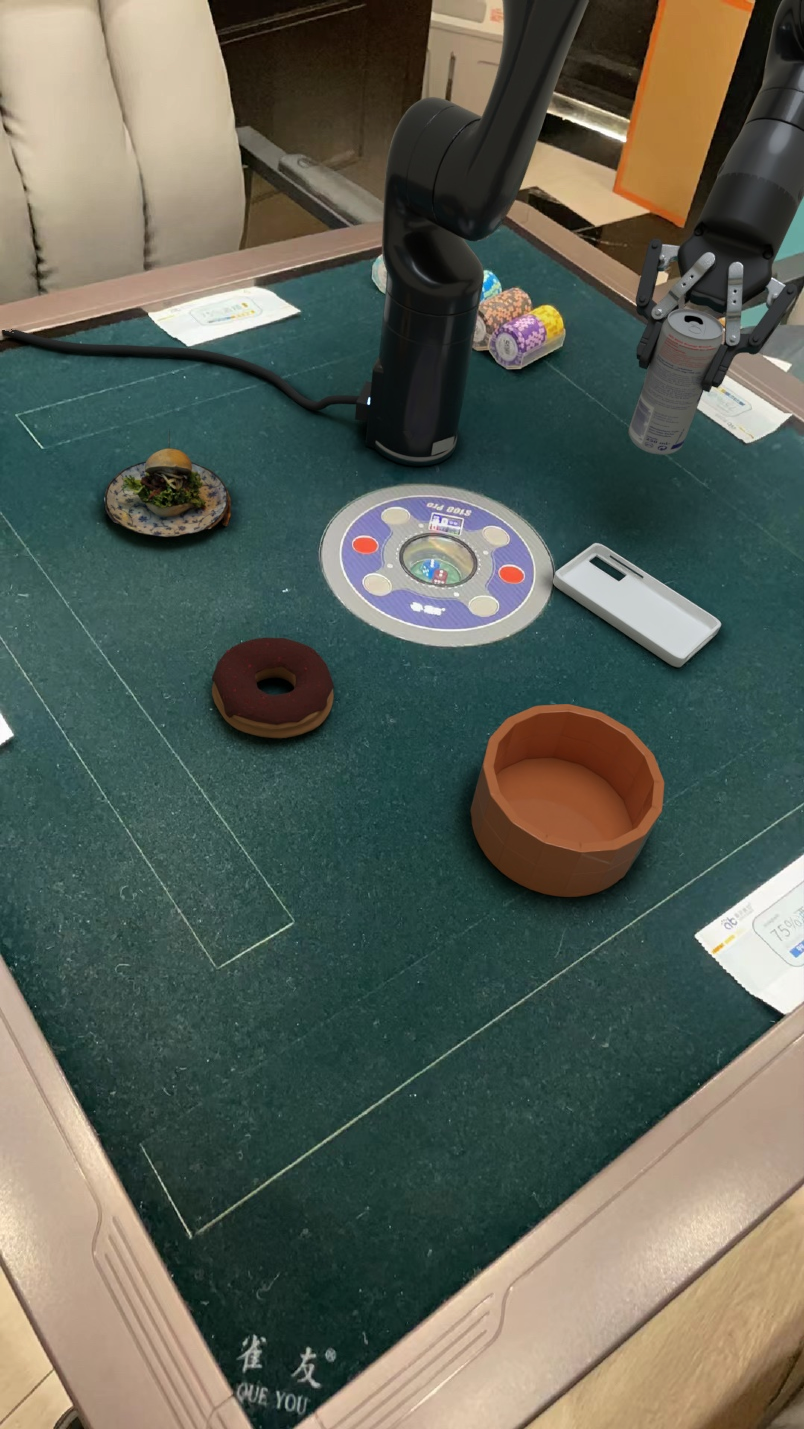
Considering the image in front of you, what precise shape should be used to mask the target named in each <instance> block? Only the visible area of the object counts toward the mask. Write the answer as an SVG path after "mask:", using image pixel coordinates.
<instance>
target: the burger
mask: <svg viewBox="0 0 804 1429" xmlns="http://www.w3.org/2000/svg"><path fill="white" fill-rule="evenodd" d="M170 441H171V428H169V429H168V448H164V449H160V450H158V451H156V452H154V453H152V454H151V455H150V456H149V457H148V459H147V460H146V461H142V462H138V463H135V464H133V465H131V466H128V467H126V468H124V469H123V470H120V472H118V474H116V476H115V477H113V478H112V479H111V480H110V481H109V483H108V485H107V487H106V489H105V493H104V498H103V501H104V504H105V505H104V514H105V516H107V515H108V517H109V518H110V519H111V521H112V522H113V523H116V524H118V525H121V526H122V527H124V528H125V529H127V530H129V531H130V532H135V533H139V534H141V535H147V536H149V535H150V536H155V537H163V538H173V537H180V536H183V535H188V534H195V533H199V532H201V531H205V530H210V529H212V528H213V527H215V526H217V525H218V524H219V522H220V521H221V525H222V526H223V527H228V524H229V520H230V519H231V510H232V509H231V497H230V494H229V490H228V488H227V485H226V484H225V483H224V481H223V480H222V479H221V477H219V476H218V475H217V474H216V473H215V472H214V471H213V470H211V469H209V468H207V467H206V466H205V467H204V466H203V465H200V464H198V463H195V462H193V461H191V459H190V457H189V456H188V455H187V454H186V453H185V452H184V451H182V450H180V449H175V448H170V446H171V445H170Z"/></svg>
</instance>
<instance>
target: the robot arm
mask: <svg viewBox="0 0 804 1429" xmlns="http://www.w3.org/2000/svg"><path fill="white" fill-rule="evenodd" d="M589 2H590V0H502V14H503V15H502V17H503V19H502V20H503V29H502V30H503V34H502V47H501V53H500V58H499V64H498V68H497V71H496V75H495V79H494V82H493V85H492V89H491V91H490V94H489V97H488V100H487V103H486V105H485V108H484V109H483V112H482V115H479V114H477V113H476V112H474V111H471V110H469V109H467V108H465V107H462V106H461V105H458V104H456V103H454V102H453V101H450V100H448V99H445V98H441V97H438V96H429V97H428V96H427V97H425V98H421V99H419V100H418V101H416V102H414V103H413V104H412V105H411V106H410V107H409V108H408V109H407V110H406V111H405V113H404V114H403V115H402V117H401V118H400V120H399V122H398V124H397V125H396V128H395V131H394V132H393V135H392V138H391V140H390V145H389V148H388V153H387V158H386V164H385V165H386V167H385V175H384V188H383V212H382V213H383V214H382V236H381V256H382V261H383V264H384V267H385V271H386V280H385V291H384V292H385V293H384V303H383V311H382V322H381V332H380V342H379V349H378V350H379V352H378V356H377V358H376V360H375V362H374V365H373V367H372V374H371V381H368V380H366V381H365V382H364V385H363V387H362V389H361V391H360V393H359V395H347V394H335V395H328V396H325V397H324V398H321V399H320V400H319V401H316V400H311V399H309V398H306V397H304V396H303V395H302V394H300V393H299V392H298V391H297V390H295V389H294V388H293V387H292V386H291V385H290V384H289V383H288V382H287V381H286V380H284V379H283V378H282V377H281V376H279V375H278V374H276V373H275V372H273V371H271V370H269V369H267V368H265V367H262V366H261V365H258V364H256V363H253V362H250V361H247V360H245V359H241V358H239V357H236V356H231V355H227V354H223V353H218V352H213V351H209V350H203V349H197V348H189V347H188V348H187V347H175V346H174V347H171V346H146V345H131V344H100V343H99V344H97V343H95V344H94V343H93V344H92V343H79V342H71V341H70V342H69V341H63V340H58V339H53V338H48V337H43V336H39V335H36V334H32V333H29V332H27V331H26V332H25V331H22V330H19V329H15V330H12V329H13V328H12V329H11V330H12V331H11V332H9V331H5V330H2V329H1V335H2V336H4V337H7V338H11V339H14V340H15V339H16V340H19V341H23V342H26V343H29V344H32V345H36V346H40V347H45V348H49V349H52V350H59V351H64V352H65V351H66V352H74V353H81V354H106V355H107V354H108V355H109V354H110V355H112V354H113V355H137V356H139V355H140V356H157V357H159V356H161V357H178V358H179V357H181V358H192V359H200V360H205V361H209V362H210V361H211V362H216V363H220V364H225V365H229V366H232V367H235V368H239V369H241V370H245V371H248V372H250V373H252V374H255V375H257V376H260V377H262V378H264V379H266V380H268V381H270V382H272V383H273V384H274V385H276V386H277V387H278V388H279V389H281V391H283V392H284V393H285V394H286V396H288V397H289V398H290V399H292V400H293V401H294V402H295V403H297V404H298V405H299V406H301V407H303V408H305V409H308V410H311V411H322V410H324V409H326V408H327V407H330V406H332V405H355V413H354V414H355V415H354V421H359V422H363V423H366V424H367V426H366V434H365V446H366V447H368V448H372V449H375V450H376V451H377V452H378V453H379V454H380V455H382V456H383V457H384V458H387V459H388V460H390V461H392V462H396V463H398V464H402V465H407V466H415V467H425V466H426V467H427V466H432V465H436V464H439V463H442V462H443V461H445V460H447V459H448V458H450V457H451V456H452V455H453V454H454V452H455V450H456V447H457V441H458V432H459V424H460V418H461V413H462V407H463V403H464V396H465V391H466V385H467V379H468V374H469V368H470V364H471V363H470V362H471V357H472V351H473V346H474V340H475V334H476V327H477V322H478V316H479V312H480V305H481V300H482V299H481V298H482V293H483V289H484V280H485V272H484V271H485V270H484V267H483V264H482V262H481V261H480V259H479V257H478V256H477V254H476V253H475V252H474V251H473V250H472V248H471V247H470V245H468V243H467V242H466V241H470V242H480V241H483V240H486V239H487V238H489V237H490V236H491V235H493V234H494V233H495V232H496V231H497V230H498V229H499V227H500V226H501V225H502V223H503V222H504V221H505V220H506V218H507V216H508V214H509V213H510V211H511V209H512V208H513V206H514V203H515V201H516V199H517V197H518V194H519V193H520V189H521V187H522V185H523V182H524V180H525V177H526V174H527V171H528V169H529V166H530V163H531V160H532V157H533V154H534V151H535V148H536V146H537V142H538V140H539V136H540V134H541V130H542V128H543V124H544V121H545V119H546V116H547V113H548V110H549V106H550V104H551V101H552V98H553V95H554V92H555V89H556V86H557V83H558V80H559V77H560V74H561V72H562V69H563V67H564V64H565V61H566V59H567V56H568V53H569V51H570V48H571V46H572V43H573V41H574V38H575V36H576V33H577V32H578V28H579V26H580V24H581V22H582V19H583V17H584V14H585V13H586V12H585V11H586V9H587V7H588V4H589ZM764 65H765V66H764V72H763V78H762V85H761V87H760V89H759V90H758V93H757V95H756V97H755V99H754V102H753V104H752V106H751V108H750V111H749V113H748V114H747V118H746V120H745V122H744V124H743V126H742V128H741V131H740V132H739V133H738V136H737V138H736V139H735V141H734V142H733V144H732V145H731V148H730V149H729V150H728V153H727V155H726V157H725V159H724V161H723V162H722V164H721V165H720V167H719V169H718V172H717V173H716V174H717V177H716V179H715V181H714V183H713V185H712V188H711V190H710V193H709V194H708V197H707V199H706V201H705V204H704V206H703V208H702V210H701V213H700V215H699V216H698V219H697V221H696V222H695V225H694V227H693V230H692V232H691V234H690V235H689V237H688V238H686V239H685V240H684V241H683V242H682V243H681V244H680V245H673V244H666V243H665V244H664V243H663V242H662V240H661V239H660V238H656V237H654V238H652V239H650V240H649V242H648V244H647V248H646V253H645V257H644V261H643V266H642V270H641V274H640V278H639V283H638V287H637V290H636V296H635V305H636V307H635V308H636V309H635V311H636V314H637V315H639V316H641V317H643V318H644V319H646V320H647V324H646V326H645V329H644V331H643V333H642V336H641V337H640V339H639V342H638V344H637V346H636V352H635V354H636V360H638V367H639V369H640V368H641V369H642V370H643V369H644V370H646V371H648V368H649V365H650V362H651V359H652V356H653V353H654V350H655V347H656V343H657V340H658V337H659V334H660V331H661V328H662V325H663V323H664V321H665V320H666V319H667V318H668V316H669V314H670V313H671V312H672V311H674V310H678V309H685V308H686V307H687V306H688V305H689V303H690V304H693V305H696V306H702V307H708V308H710V309H711V310H712V311H714V312H716V313H719V314H722V315H724V340H723V341H724V342H723V343H721V345H720V347H719V349H718V351H717V353H716V355H715V357H714V359H713V362H712V364H711V366H710V368H709V370H708V373H707V375H706V377H705V379H704V382H703V384H702V390H704V391H703V392H705V393H706V392H707V393H710V392H711V390H712V388H715V389H718V388H719V387H720V386H721V385H722V384H723V382H724V380H725V378H726V376H727V373H728V372H729V370H730V367H731V364H732V362H733V360H734V359H735V357H736V356H737V355H740V354H749V355H752V356H753V355H757V354H758V353H759V352H760V351H761V350H762V349H763V348H764V345H766V343H767V341H768V340H769V339H770V337H771V336H772V335H773V333H774V332H775V330H777V328H778V327H779V325H780V324H781V322H782V321H783V320H784V318H785V317H786V315H787V314H788V313H789V311H790V309H792V307H793V306H794V304H795V301H796V298H797V294H798V291H799V289H798V286H797V285H796V284H794V283H788V284H784V283H783V282H781V281H779V280H777V279H776V278H775V277H773V264H774V262H775V259H776V258H777V255H778V253H779V251H780V248H781V247H782V245H783V242H784V240H785V238H786V235H787V234H788V232H789V229H790V227H791V226H792V223H793V221H794V218H795V217H796V214H797V212H798V210H799V207H800V205H801V203H802V201H803V199H804V0H781V1H780V4H779V6H778V8H777V11H776V13H775V16H774V20H773V24H772V28H771V34H770V40H769V45H768V50H767V55H766V60H765V64H764ZM675 261H677V265H678V271H679V275H680V278H679V280H677V281H676V282H675V283H674V284H673V285H672V286H671V288H670V289H669V290H668V293H666V294H665V296H664V297H663V298H662V299H661V300H660V301H659V302H658V303H657V302H655V300H654V299H653V298H654V294H655V289H656V285H657V281H658V277H659V272H660V273H662V272H665V271H666V270H668V268H669V265H670V264H671V263H672V262H675ZM763 292H766V293H767V298H766V299H765V306H766V308H767V310H766V312H765V313H764V314H763V316H762V317H761V319H760V320H759V322H757V324H756V326H755V327H754V329H753V330H752V331H751V332H750V333H741V328H742V327H741V326H742V309H743V308H742V306H743V305H745V304H746V303H748V302H749V301H751V300H753V299H755V298H756V297H757V296H759V295H761V294H762V293H763ZM724 313H725V314H724ZM12 332H14V333H12Z"/></svg>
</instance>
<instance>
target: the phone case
mask: <svg viewBox="0 0 804 1429" xmlns="http://www.w3.org/2000/svg"><path fill="white" fill-rule="evenodd" d="M595 557H596V558H598V559H599V560H601V561H603V562H604V563H605V564H607V565H609V566H610V567H612V568H613V569H615V570H616V571H618V572H619V573H621V574H622V575H624V577H623V578H622V579H620V580H617V579H616V578H614V577H613V576H611V575H610V574H608V573H606V571H603V569H600V568H599V567H597V566H596V565H595V564H594V563H592V562H591V561H592V560H593V559H594V558H595ZM616 560H617V561H616ZM624 565H625V566H624ZM626 566H627V567H628V568H627V567H626ZM636 573H637V574H636ZM641 576H642V577H641ZM552 584H553V585H554V586H555V588H557V589H558V590H559V591H561V592H562V593H564V594H565V595H566V596H568V597H569V598H571V599H573V600H574V601H576V602H577V603H579V604H580V605H582V606H583V607H585V608H586V609H587V610H589V611H591V612H592V613H593V614H595V615H596V616H598V617H599V618H601V619H602V620H604V621H605V622H607V623H608V624H610V626H613V627H614V628H616V629H617V630H618V631H620V632H621V633H623V634H624V635H626V636H627V637H629V638H630V639H632V640H633V641H634V642H636V643H638V644H639V645H641V646H642V647H643V648H645V649H646V650H647V651H649V652H651V653H652V654H654V655H655V656H657V657H658V658H659V659H661V660H663V661H664V662H666V663H667V664H669V665H670V666H672V667H675V668H681V667H682V666H683V665H684V664H686V663H687V662H688V661H689V660H690V659H691V658H693V657H694V656H695V655H696V654H697V653H698V652H699V651H700V650H701V649H702V648H704V647H705V646H706V645H707V644H708V643H709V642H710V641H711V640H713V639H714V637H716V635H718V633H719V630H720V628H721V626H722V623H721V621H720V620H719V619H718V618H717V617H716V616H714V615H713V614H711V613H709V612H708V611H707V610H705V609H704V608H701V607H700V606H699V605H697V604H696V603H694V602H692V601H691V600H689V599H688V598H686V597H685V596H683V595H681V594H680V593H678V592H677V591H675V590H673V588H671V587H669V586H667V585H666V584H664V583H663V582H661V581H660V580H658V579H657V578H655V577H654V576H653V575H650V574H649V573H647V572H646V571H644V570H643V569H641V568H640V567H638V566H637V565H635V564H634V563H632V562H630V561H629V560H627V559H626V558H625V557H622V556H621V555H620V554H618V553H616V552H615V551H614V550H612V549H610V548H609V547H607V546H606V545H603V544H602V543H599V542H594V543H592V544H591V545H590V546H588V547H586V549H584V550H583V551H581V552H580V553H579V554H577V555H576V556H574V557H573V558H572V559H570V560H569V561H568V562H567V563H565V564H564V565H563V566H561V567H560V568H559V569H557V570H556V571H555V572H554V575H553V579H552Z"/></svg>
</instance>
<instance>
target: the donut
mask: <svg viewBox="0 0 804 1429" xmlns="http://www.w3.org/2000/svg"><path fill="white" fill-rule="evenodd" d="M330 672H331V671H330V670H329V667H328V665H327V663H326V662H325V661H324V659H323V658H322V656H321V655H320V654H319V653H318V652H317V651H316V650H315V649H314V648H313V647H311V646H310V645H307V644H305V643H303V642H300V641H295V640H292V639H290V638H286V637H258V638H253V639H249V640H245V641H243V642H240V643H238V644H235V645H234V646H231V648H229V649H227V650H226V652H224V654H222V656H221V658H219V660H218V661H217V663H216V666H215V668H214V671H213V674H212V677H211V678H212V679H211V681H213V684H212V688H211V693H212V694H211V695H212V699H213V702H214V704H215V706H216V707H217V709H218V711H219V713H220V714H221V716H222V718H223V719H224V720H225V721H226V723H228V724H229V725H230V726H231V727H233V728H235V729H236V730H238V731H240V732H243V733H245V734H249V735H252V736H256V737H261V738H271V739H285V738H291V737H296V736H297V737H298V736H301V735H303V734H306V733H308V732H311V731H313V730H315V729H317V728H318V727H319V726H320V725H321V724H322V723H324V722H325V720H326V719H327V718H328V716H329V714H330V713H331V710H332V707H333V705H334V704H333V703H334V697H335V696H334V689H335V686H334V682H333V679H332V676H331V675H332V674H331V673H330ZM272 678H273V679H274V678H275V679H282V680H285V681H287V682H288V683H290V684H291V685H292V686H293V690H291V691H289V692H285V693H280V694H268V693H266V692H264V691H263V690H261V689H259V686H258V683H259V682H261V681H263V680H268V679H272Z"/></svg>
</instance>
